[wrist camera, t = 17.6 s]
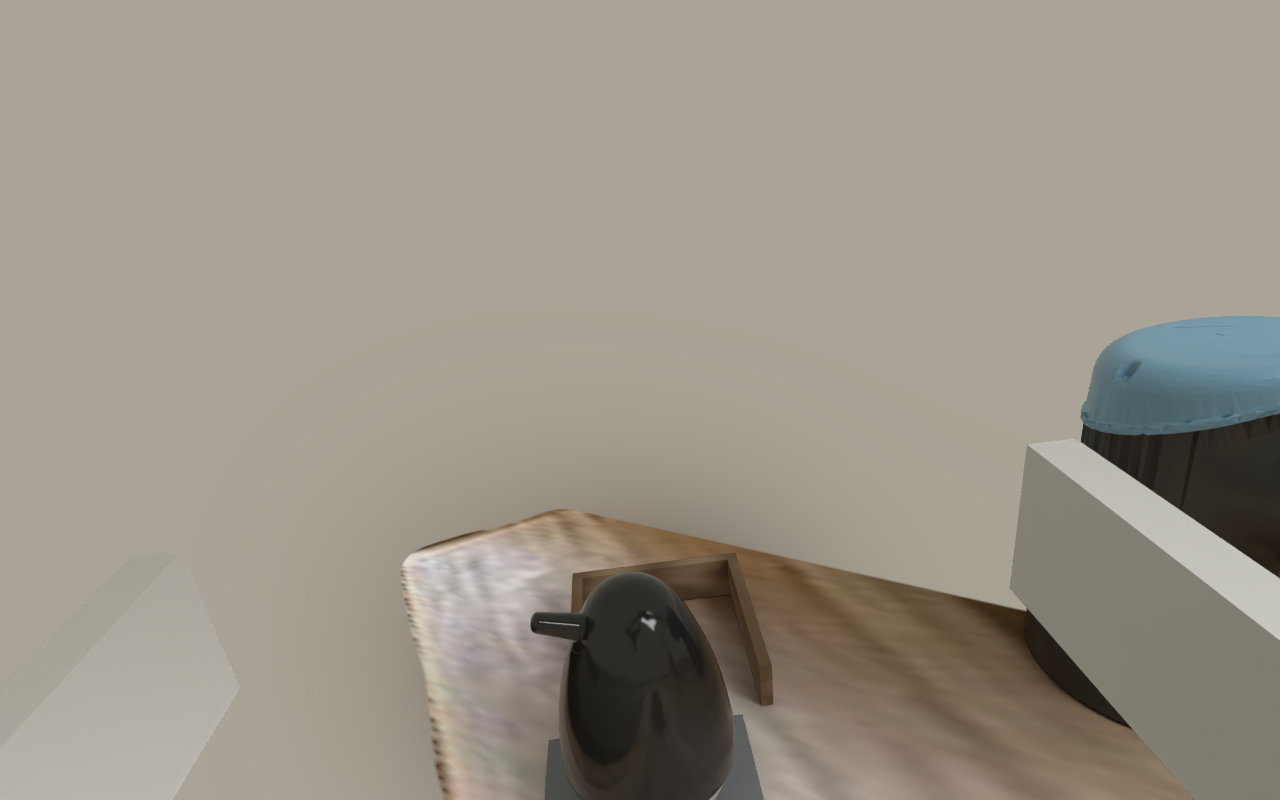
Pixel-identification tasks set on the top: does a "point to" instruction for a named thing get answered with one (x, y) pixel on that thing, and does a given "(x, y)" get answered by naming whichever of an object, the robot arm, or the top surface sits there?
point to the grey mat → (736, 796)
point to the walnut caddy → (700, 582)
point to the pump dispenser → (640, 696)
